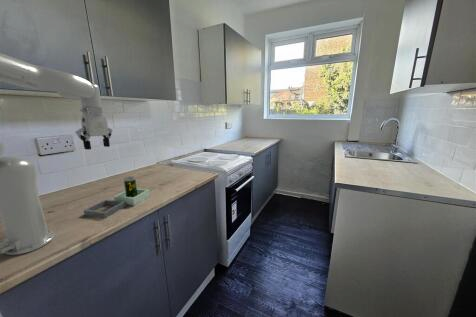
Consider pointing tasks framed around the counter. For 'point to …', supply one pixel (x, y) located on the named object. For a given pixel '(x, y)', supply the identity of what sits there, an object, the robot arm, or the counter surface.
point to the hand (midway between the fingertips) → (97, 147)
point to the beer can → (130, 186)
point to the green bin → (133, 201)
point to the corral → (117, 206)
